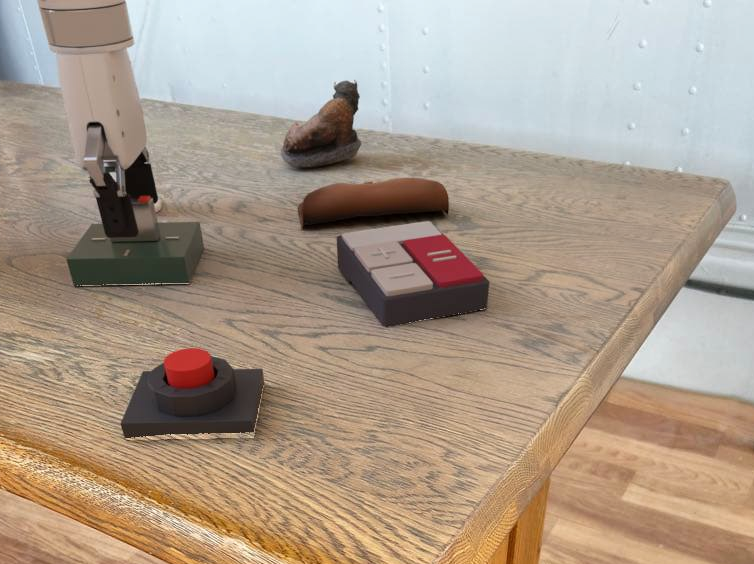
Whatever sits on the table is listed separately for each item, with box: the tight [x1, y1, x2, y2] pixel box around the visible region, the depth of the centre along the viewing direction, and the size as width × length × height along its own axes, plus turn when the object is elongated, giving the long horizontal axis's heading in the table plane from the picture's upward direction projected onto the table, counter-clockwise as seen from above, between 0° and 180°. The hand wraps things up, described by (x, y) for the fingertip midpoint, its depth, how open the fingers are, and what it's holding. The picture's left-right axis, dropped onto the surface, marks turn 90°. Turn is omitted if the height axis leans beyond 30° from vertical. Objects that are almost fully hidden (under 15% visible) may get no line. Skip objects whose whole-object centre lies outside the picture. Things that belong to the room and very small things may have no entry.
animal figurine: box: [279, 79, 362, 168], centre depth 112 cm, size 12×7×10 cm, turn 117°
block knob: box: [110, 196, 160, 242], centre depth 84 cm, size 5×2×4 cm, turn 92°
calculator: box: [336, 220, 490, 328], centre depth 82 cm, size 11×4×15 cm
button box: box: [120, 355, 265, 439], centre depth 64 cm, size 10×8×4 cm
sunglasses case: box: [297, 177, 450, 229], centre depth 98 cm, size 18×7×7 cm
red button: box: [163, 347, 215, 389], centre depth 63 cm, size 4×4×2 cm
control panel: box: [66, 221, 205, 287], centre depth 87 cm, size 12×10×3 cm
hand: (133, 218), depth 84 cm, fingers open, 9 cm apart
